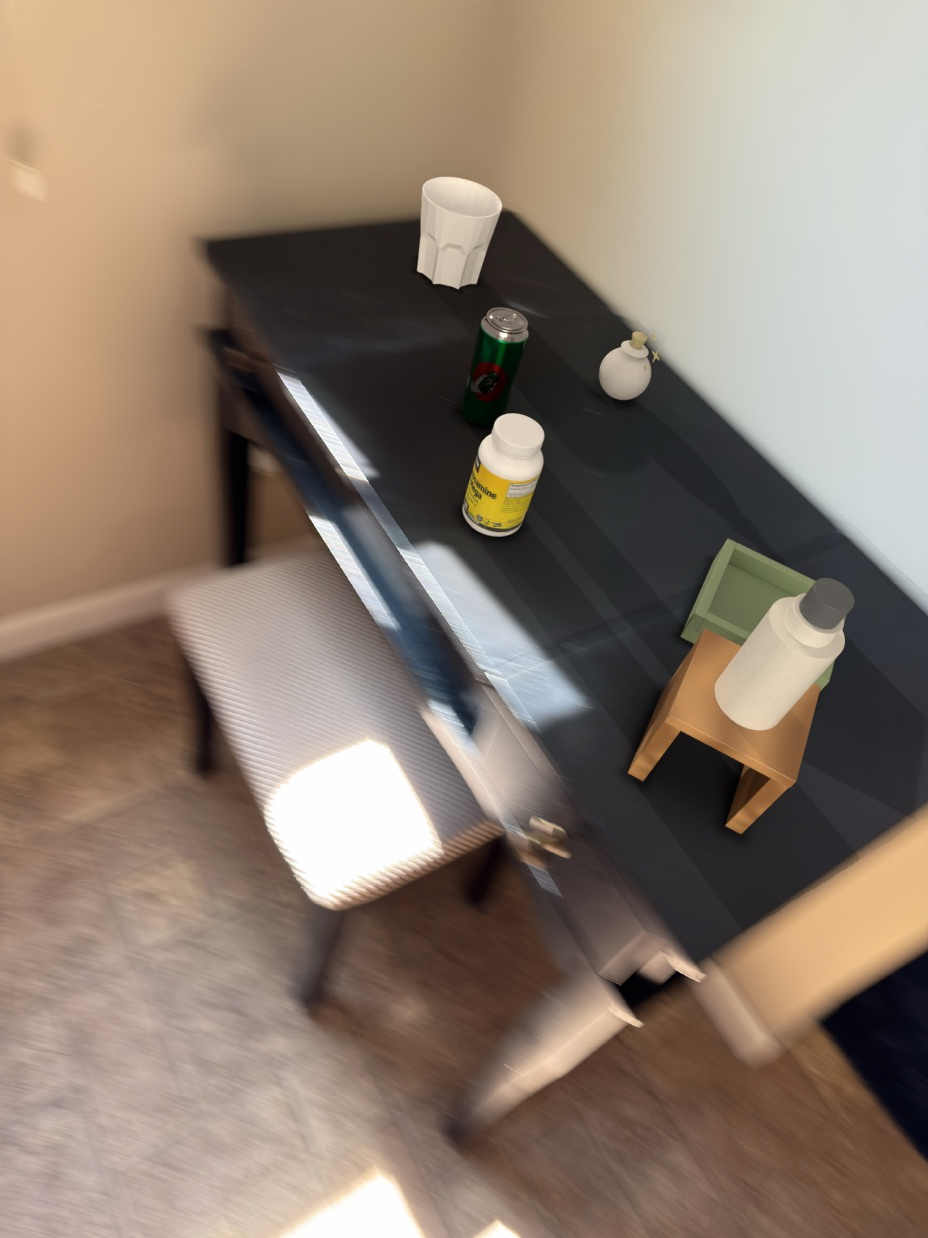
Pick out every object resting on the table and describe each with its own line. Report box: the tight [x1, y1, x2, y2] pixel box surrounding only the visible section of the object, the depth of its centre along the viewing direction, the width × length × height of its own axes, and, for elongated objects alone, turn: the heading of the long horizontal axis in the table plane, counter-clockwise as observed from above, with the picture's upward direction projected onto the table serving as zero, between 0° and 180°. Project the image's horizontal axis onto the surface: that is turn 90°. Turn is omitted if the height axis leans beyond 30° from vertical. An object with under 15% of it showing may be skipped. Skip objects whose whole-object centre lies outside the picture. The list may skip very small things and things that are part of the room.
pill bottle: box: [462, 412, 545, 537], centre depth 82 cm, size 6×6×11 cm
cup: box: [416, 176, 503, 290], centre depth 111 cm, size 10×10×10 cm
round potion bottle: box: [598, 331, 660, 401], centre depth 100 cm, size 6×7×10 cm
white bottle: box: [714, 577, 856, 730], centre depth 61 cm, size 5×5×12 cm
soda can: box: [459, 307, 530, 428], centre depth 92 cm, size 5×5×12 cm
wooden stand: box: [627, 628, 821, 835], centre depth 69 cm, size 10×10×9 cm
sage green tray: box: [680, 538, 847, 692], centre depth 83 cm, size 13×12×4 cm
